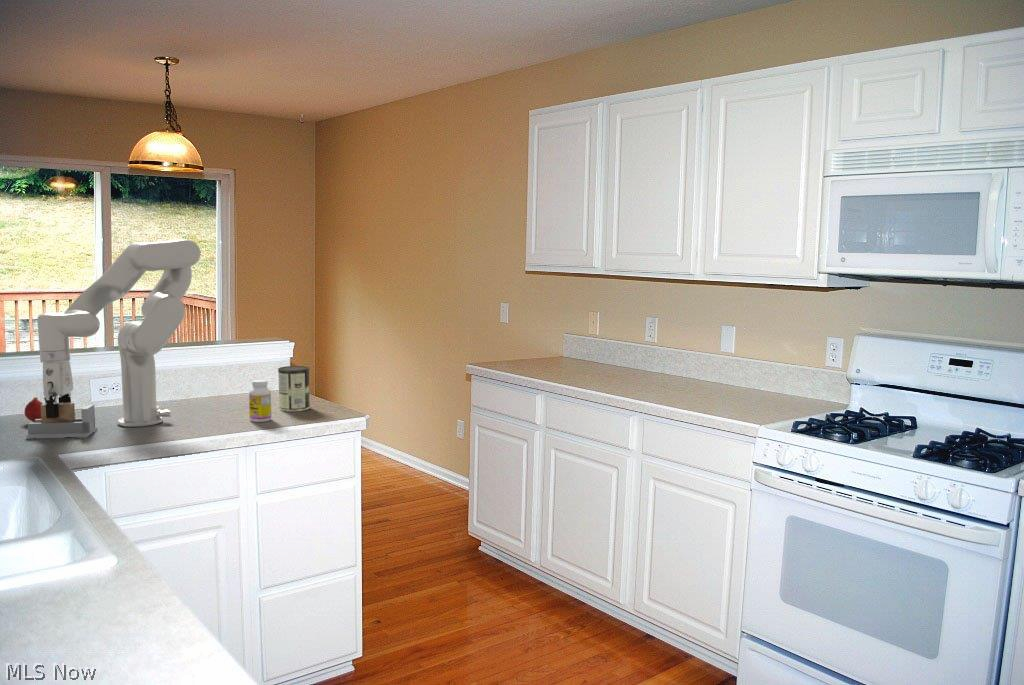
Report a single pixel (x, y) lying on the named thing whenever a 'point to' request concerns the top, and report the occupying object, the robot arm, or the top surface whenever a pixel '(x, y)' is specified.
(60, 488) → the top surface
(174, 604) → the top surface
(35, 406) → the onion
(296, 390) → the coffee can
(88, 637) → the top surface
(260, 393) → the supplement bottle
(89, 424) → the track
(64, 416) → the door slab
